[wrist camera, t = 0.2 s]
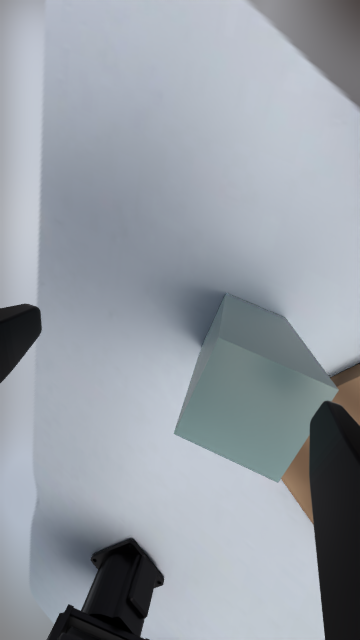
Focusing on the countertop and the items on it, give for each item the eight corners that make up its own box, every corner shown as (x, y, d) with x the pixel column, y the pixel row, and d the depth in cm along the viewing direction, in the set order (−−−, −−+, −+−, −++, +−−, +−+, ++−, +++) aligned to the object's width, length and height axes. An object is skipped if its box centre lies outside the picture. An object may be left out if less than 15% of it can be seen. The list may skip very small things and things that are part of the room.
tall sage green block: (257, 371, 24) (277, 482, 13) (201, 347, 25) (173, 433, 13) (285, 318, 23) (338, 390, 11) (226, 292, 23) (218, 337, 12)
